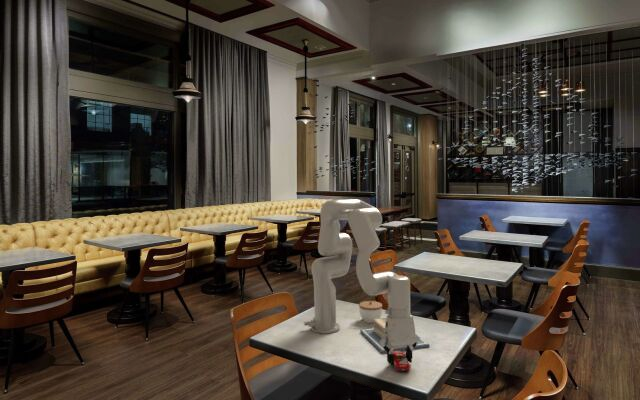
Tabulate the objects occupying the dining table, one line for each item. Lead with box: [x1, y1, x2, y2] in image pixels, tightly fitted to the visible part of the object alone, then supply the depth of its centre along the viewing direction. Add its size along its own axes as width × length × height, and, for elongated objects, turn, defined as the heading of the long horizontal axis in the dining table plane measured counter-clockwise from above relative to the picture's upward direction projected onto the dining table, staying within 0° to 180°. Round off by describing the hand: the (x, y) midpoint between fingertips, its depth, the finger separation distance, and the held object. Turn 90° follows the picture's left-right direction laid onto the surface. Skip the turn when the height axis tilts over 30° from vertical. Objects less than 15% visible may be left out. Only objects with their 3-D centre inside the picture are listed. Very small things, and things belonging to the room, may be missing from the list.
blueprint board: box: [359, 317, 430, 355], centre depth 157 cm, size 20×22×6 cm
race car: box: [392, 351, 411, 372], centre depth 135 cm, size 13×5×4 cm, turn 178°
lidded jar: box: [358, 300, 383, 324], centre depth 179 cm, size 11×11×9 cm
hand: (399, 361), depth 135 cm, fingers closed on race car, 6 cm apart
